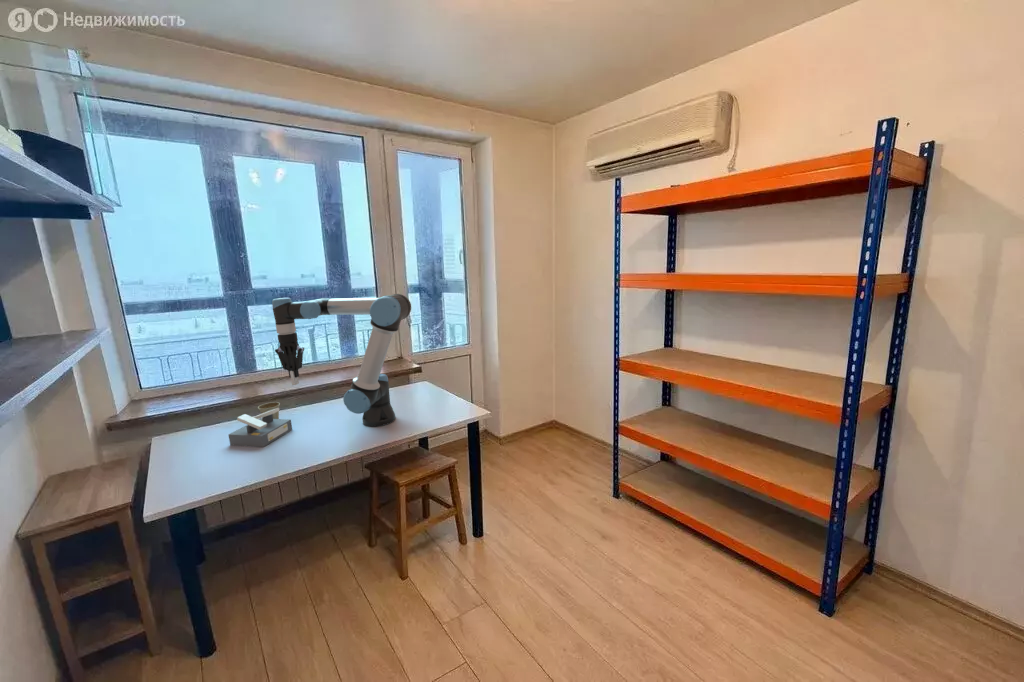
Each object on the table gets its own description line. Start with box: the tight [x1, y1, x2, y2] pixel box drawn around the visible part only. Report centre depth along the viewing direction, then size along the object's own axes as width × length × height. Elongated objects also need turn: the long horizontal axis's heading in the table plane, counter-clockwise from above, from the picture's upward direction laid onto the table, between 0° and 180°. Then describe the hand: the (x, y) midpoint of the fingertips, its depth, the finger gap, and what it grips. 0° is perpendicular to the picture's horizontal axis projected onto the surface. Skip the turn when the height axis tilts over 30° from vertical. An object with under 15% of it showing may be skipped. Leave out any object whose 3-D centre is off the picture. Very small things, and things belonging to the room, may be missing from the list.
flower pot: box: [257, 401, 281, 419], centre depth 200 cm, size 9×9×9 cm
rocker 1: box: [236, 413, 267, 430], centre depth 177 cm, size 11×4×1 cm, turn 81°
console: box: [228, 414, 293, 448], centre depth 183 cm, size 16×18×8 cm
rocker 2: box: [252, 407, 281, 419], centre depth 186 cm, size 11×4×1 cm, turn 80°
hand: (295, 384), depth 186 cm, fingers closed
